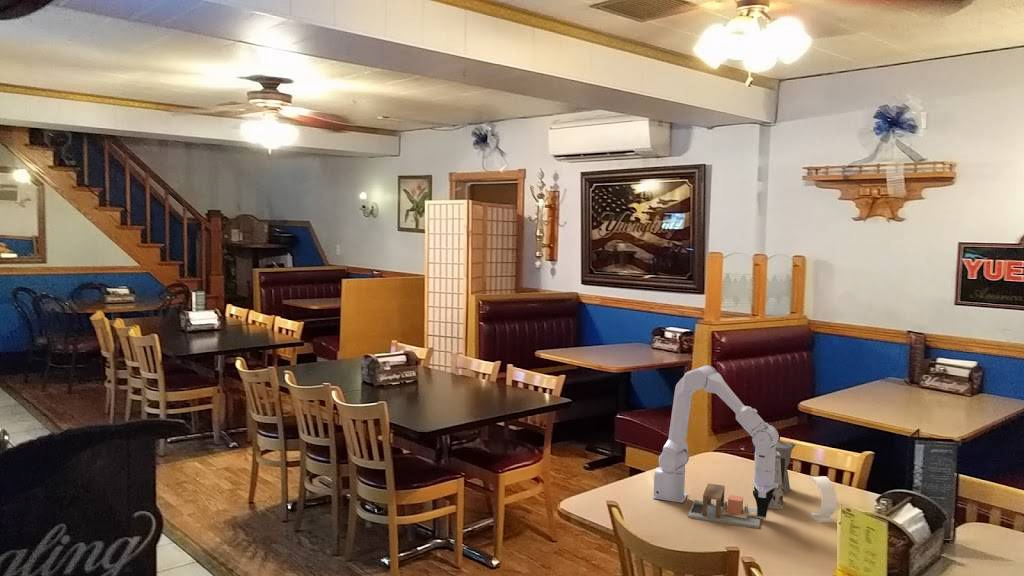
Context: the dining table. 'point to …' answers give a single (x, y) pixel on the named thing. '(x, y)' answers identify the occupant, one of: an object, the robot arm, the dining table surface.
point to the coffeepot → (786, 451)
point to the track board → (711, 515)
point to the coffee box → (778, 481)
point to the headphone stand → (825, 500)
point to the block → (735, 504)
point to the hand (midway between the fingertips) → (762, 513)
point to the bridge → (713, 493)
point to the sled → (744, 513)
